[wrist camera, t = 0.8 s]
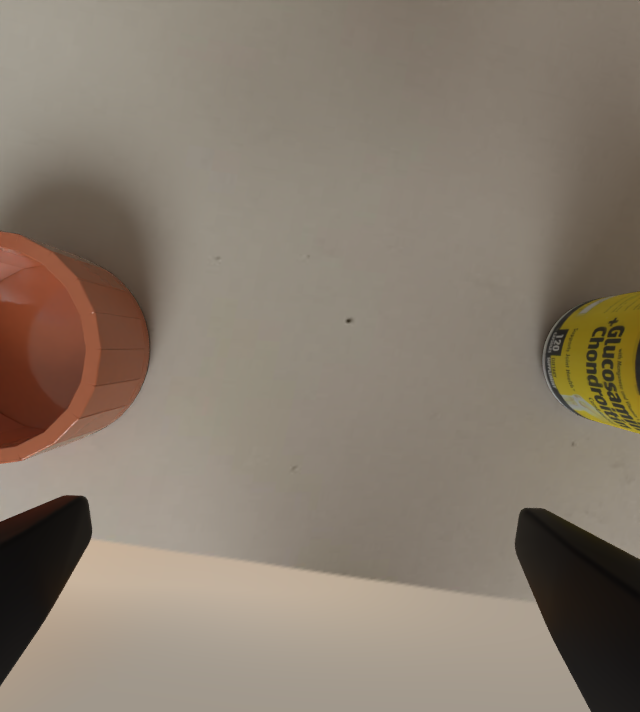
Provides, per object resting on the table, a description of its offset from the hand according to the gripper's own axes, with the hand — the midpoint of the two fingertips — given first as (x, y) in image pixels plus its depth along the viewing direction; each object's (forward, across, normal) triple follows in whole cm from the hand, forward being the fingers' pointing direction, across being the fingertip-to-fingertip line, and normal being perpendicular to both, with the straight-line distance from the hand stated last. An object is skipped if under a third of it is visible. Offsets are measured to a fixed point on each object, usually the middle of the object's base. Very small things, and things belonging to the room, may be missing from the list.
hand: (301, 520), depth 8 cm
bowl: (+13, +14, -1) cm, 19 cm away
